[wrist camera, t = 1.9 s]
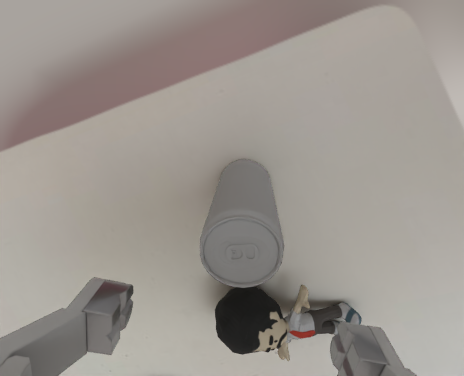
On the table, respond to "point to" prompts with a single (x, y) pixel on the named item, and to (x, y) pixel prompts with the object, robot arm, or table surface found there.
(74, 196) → the table surface
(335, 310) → the figurine
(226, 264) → the beverage can
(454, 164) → the table surface
